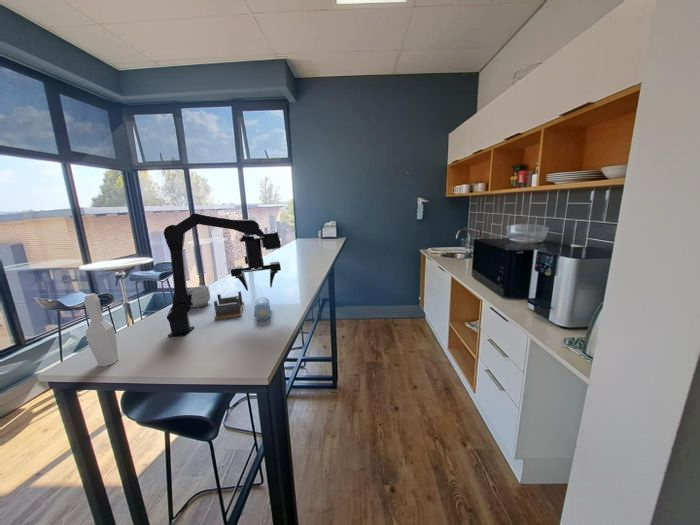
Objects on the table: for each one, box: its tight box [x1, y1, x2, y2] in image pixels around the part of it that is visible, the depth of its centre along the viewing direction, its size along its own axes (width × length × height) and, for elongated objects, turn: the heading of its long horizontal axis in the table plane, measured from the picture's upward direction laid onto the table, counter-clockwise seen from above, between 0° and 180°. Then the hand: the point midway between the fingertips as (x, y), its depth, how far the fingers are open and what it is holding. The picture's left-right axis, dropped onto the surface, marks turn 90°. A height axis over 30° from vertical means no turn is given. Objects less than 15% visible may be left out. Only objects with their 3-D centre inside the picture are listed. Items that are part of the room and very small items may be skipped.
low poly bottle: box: [83, 293, 119, 367], centre depth 82 cm, size 6×6×22 cm
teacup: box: [188, 284, 211, 309], centre depth 130 cm, size 14×11×8 cm
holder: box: [213, 290, 245, 321], centre depth 119 cm, size 16×10×7 cm, turn 17°
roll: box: [253, 296, 271, 322], centre depth 114 cm, size 12×6×6 cm, turn 17°
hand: (259, 289), depth 112 cm, fingers open, 9 cm apart
